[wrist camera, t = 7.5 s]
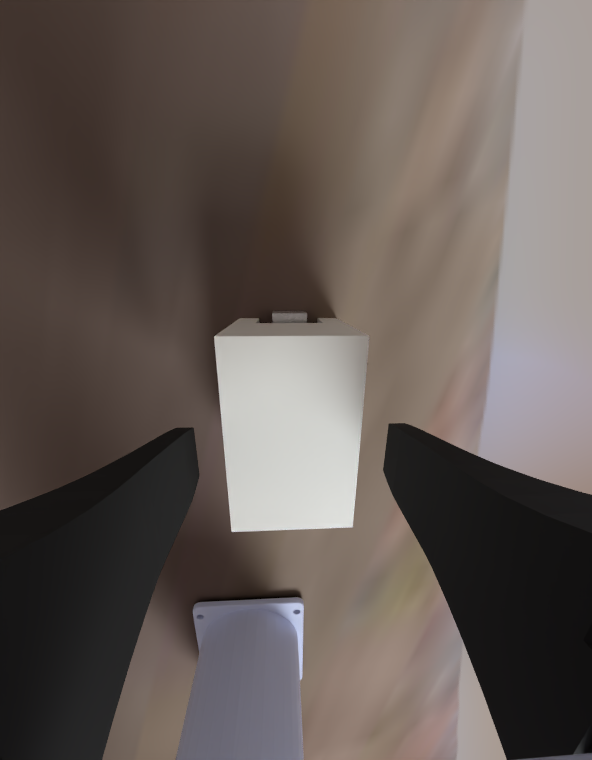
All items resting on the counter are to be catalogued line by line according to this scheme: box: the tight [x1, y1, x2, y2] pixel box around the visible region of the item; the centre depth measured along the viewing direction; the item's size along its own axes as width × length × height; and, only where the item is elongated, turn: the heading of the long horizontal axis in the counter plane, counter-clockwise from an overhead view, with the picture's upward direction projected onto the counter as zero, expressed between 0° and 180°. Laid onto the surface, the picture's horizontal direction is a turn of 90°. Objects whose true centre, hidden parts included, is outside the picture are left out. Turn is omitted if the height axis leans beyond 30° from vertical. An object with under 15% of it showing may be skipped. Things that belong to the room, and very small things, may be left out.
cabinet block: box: [214, 318, 369, 532], centre depth 13 cm, size 8×5×6 cm, turn 0°
